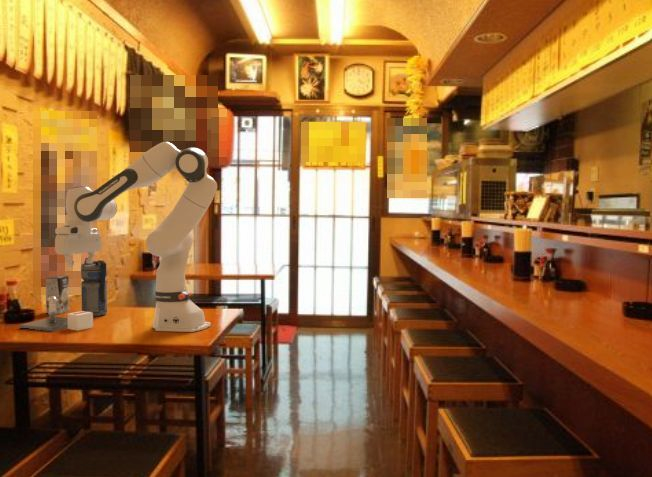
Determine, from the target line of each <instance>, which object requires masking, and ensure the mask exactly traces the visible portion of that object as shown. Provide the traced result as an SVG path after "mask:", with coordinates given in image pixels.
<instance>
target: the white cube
mask: <svg viewBox="0 0 652 477" xmlns="http://www.w3.org/2000/svg"><path fill="white" fill-rule="evenodd" d="M67 318H68V328H67V329H68V330H71V331H77V332H78V331H83V330H88V329H92V328H94V317H93V313H92V312H87V311H82V310H80V311H74V312H70V313H67Z"/></svg>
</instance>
